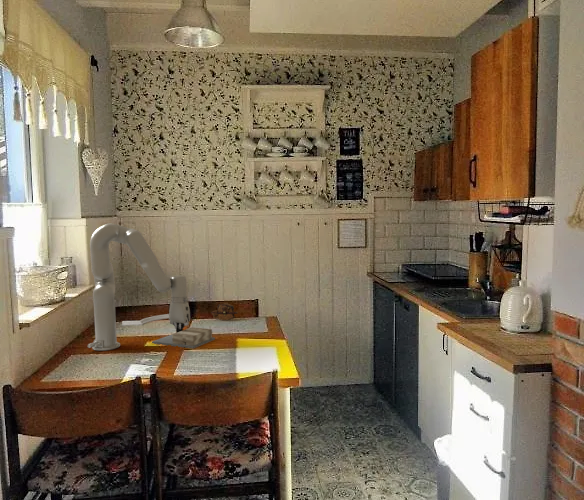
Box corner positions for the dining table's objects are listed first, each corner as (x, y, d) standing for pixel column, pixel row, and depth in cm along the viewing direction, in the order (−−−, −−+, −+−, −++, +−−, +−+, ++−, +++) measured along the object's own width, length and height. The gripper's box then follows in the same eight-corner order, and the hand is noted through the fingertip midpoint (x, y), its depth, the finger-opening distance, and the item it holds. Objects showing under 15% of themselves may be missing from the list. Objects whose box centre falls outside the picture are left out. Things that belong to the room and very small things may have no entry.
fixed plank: (192, 345, 237) (192, 336, 237) (182, 344, 240) (182, 335, 239) (212, 337, 251) (211, 329, 251) (202, 336, 254) (201, 328, 254)
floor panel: (193, 348, 236) (193, 346, 236) (152, 343, 246) (152, 341, 246) (214, 339, 252) (214, 337, 252) (175, 335, 263) (175, 333, 263)
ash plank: (184, 344, 239) (184, 335, 239) (172, 343, 242) (172, 334, 242) (204, 336, 254) (203, 328, 253) (192, 335, 257) (192, 327, 256)
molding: (179, 314, 321) (179, 309, 320) (190, 316, 313) (190, 311, 312) (118, 325, 289) (118, 321, 289) (129, 328, 281) (129, 323, 281)
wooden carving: (210, 320, 296) (209, 304, 295) (213, 319, 301) (212, 302, 300) (236, 321, 293) (236, 304, 292) (239, 319, 297) (238, 303, 296)
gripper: (195, 299, 249) (196, 335, 251) (171, 297, 255) (172, 333, 257) (186, 302, 242) (187, 339, 244) (162, 300, 248) (162, 336, 250)
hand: (179, 336), depth 250 cm, fingers closed
